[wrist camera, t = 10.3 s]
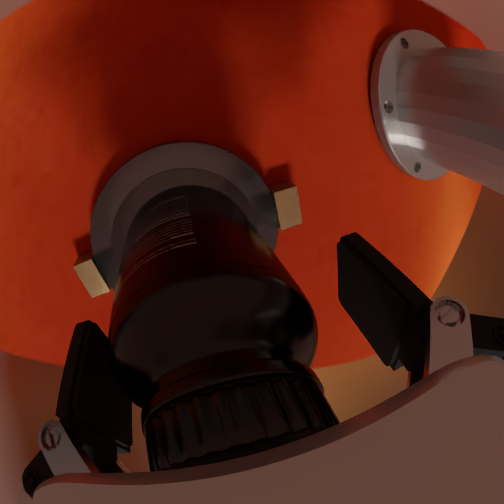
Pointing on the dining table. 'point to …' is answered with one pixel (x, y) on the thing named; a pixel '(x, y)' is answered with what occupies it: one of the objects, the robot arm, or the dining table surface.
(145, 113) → the dining table surface
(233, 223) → the supplement bottle
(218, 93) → the dining table surface
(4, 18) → the dining table surface
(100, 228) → the base
